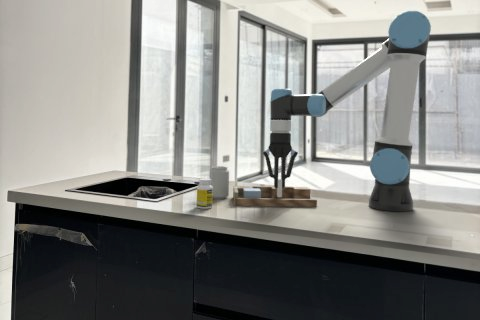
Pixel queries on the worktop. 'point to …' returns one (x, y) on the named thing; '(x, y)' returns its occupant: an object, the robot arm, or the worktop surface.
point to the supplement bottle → (204, 194)
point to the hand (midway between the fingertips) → (279, 196)
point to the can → (220, 182)
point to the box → (275, 197)
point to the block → (251, 193)
